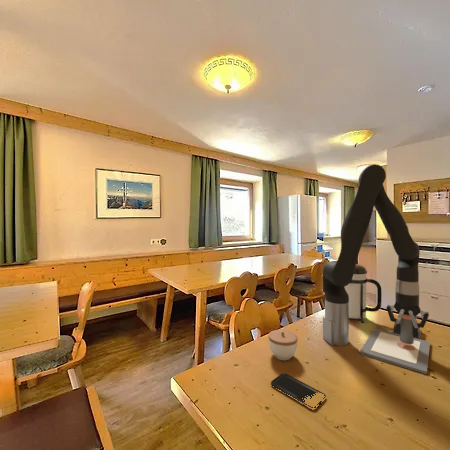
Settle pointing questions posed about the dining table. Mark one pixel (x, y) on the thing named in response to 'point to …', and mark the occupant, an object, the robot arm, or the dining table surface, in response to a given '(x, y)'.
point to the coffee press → (360, 294)
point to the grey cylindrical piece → (406, 329)
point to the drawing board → (397, 350)
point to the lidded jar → (283, 344)
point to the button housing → (414, 337)
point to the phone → (294, 387)
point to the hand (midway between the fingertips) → (406, 334)
